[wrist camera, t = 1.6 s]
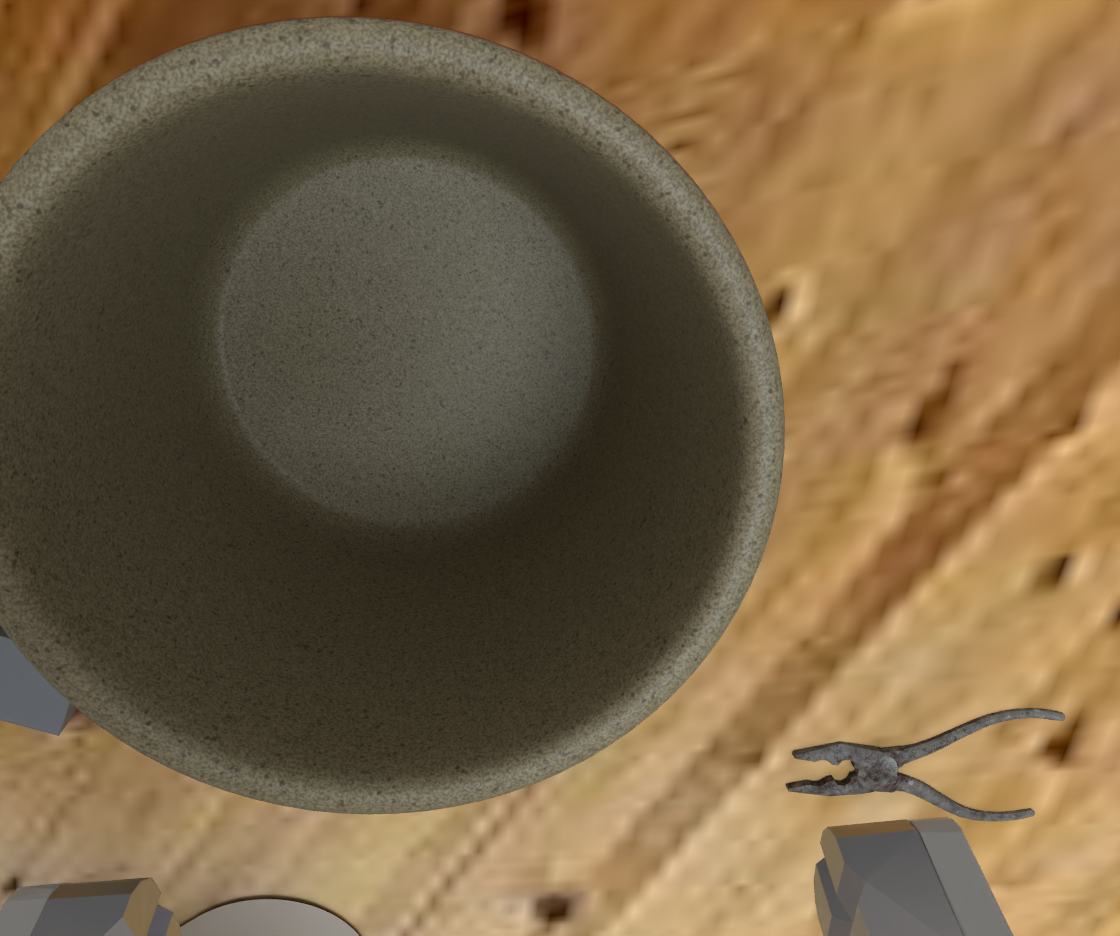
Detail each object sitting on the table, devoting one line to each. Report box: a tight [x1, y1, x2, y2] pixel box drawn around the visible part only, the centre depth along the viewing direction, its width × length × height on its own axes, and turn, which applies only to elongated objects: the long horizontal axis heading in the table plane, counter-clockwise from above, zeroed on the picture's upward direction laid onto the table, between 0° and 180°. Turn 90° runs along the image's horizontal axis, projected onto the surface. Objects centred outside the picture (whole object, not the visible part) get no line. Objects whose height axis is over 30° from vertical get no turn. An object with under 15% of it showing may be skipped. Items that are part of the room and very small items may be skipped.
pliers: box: [786, 708, 1065, 821], centre depth 60 cm, size 10×1×20 cm
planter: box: [0, 16, 785, 814], centre depth 34 cm, size 23×23×24 cm
